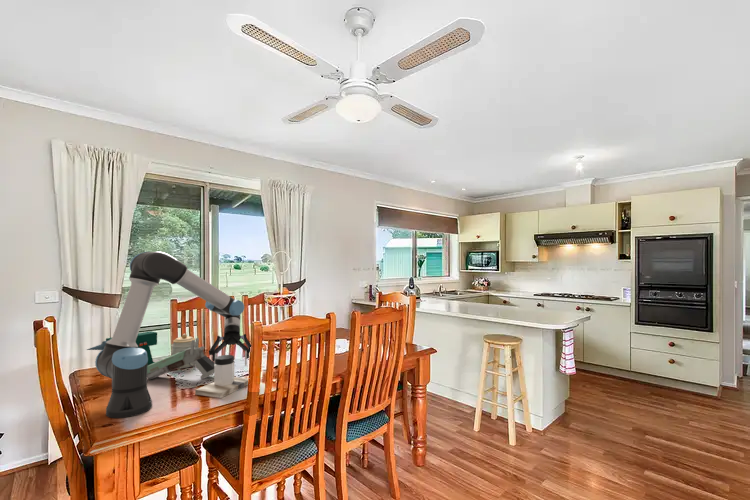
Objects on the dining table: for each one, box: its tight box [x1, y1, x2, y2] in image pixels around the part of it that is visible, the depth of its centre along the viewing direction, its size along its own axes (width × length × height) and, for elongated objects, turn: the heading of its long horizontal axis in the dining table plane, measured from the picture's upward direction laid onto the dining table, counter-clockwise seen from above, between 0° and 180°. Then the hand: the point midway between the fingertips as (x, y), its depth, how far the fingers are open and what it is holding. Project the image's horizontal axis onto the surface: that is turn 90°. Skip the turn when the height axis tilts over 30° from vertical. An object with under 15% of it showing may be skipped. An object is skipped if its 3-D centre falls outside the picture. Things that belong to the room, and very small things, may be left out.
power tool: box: [86, 330, 158, 366], centre depth 189 cm, size 32×7×20 cm, turn 148°
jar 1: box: [170, 333, 196, 369], centre depth 208 cm, size 13×13×18 cm
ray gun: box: [147, 337, 215, 381], centre depth 186 cm, size 7×32×20 cm, turn 92°
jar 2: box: [213, 354, 235, 386], centre depth 172 cm, size 9×8×12 cm
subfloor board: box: [194, 376, 249, 399], centre depth 170 cm, size 20×14×2 cm
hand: (230, 365), depth 177 cm, fingers open, 13 cm apart
